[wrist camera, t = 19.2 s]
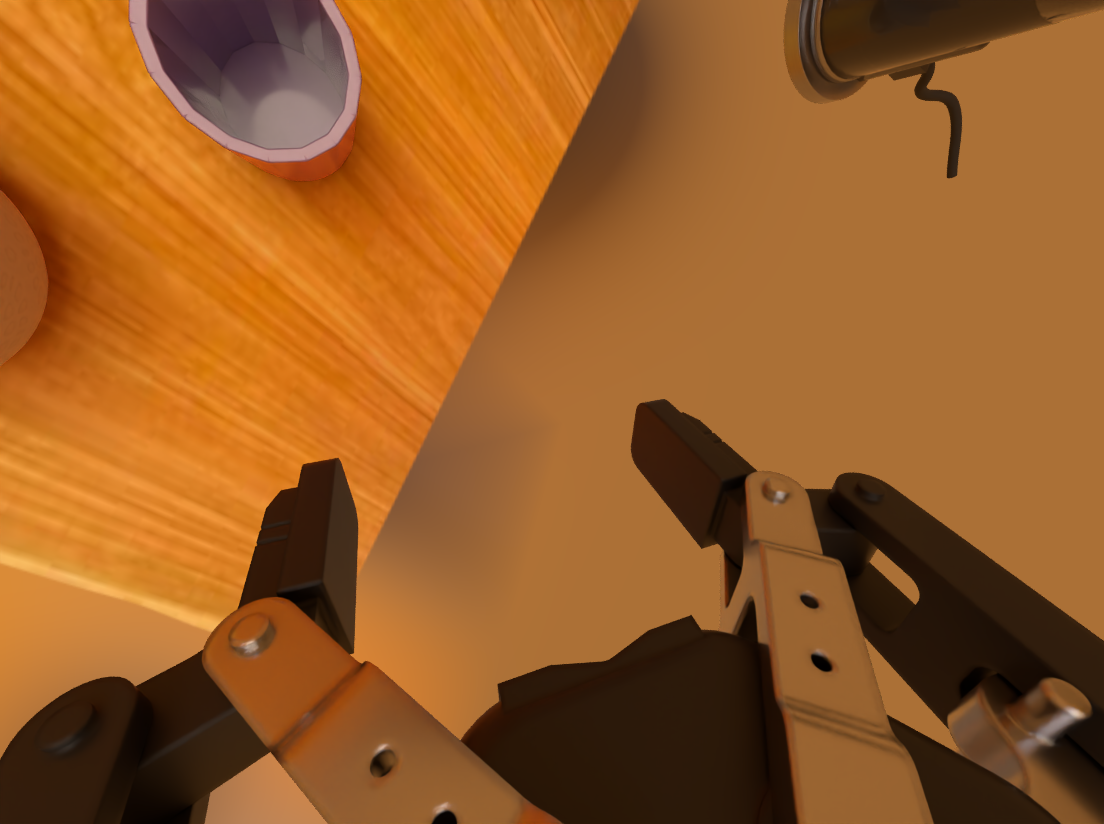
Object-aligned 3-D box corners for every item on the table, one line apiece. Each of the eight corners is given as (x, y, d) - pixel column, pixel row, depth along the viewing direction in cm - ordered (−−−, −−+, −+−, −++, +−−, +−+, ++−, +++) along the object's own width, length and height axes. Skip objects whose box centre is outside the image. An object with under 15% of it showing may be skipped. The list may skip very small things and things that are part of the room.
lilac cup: (362, 74, 23) (373, -5, 15) (345, 198, 25) (346, 189, 17) (216, 7, 20) (129, -139, 12) (208, 153, 22) (126, 115, 14)
